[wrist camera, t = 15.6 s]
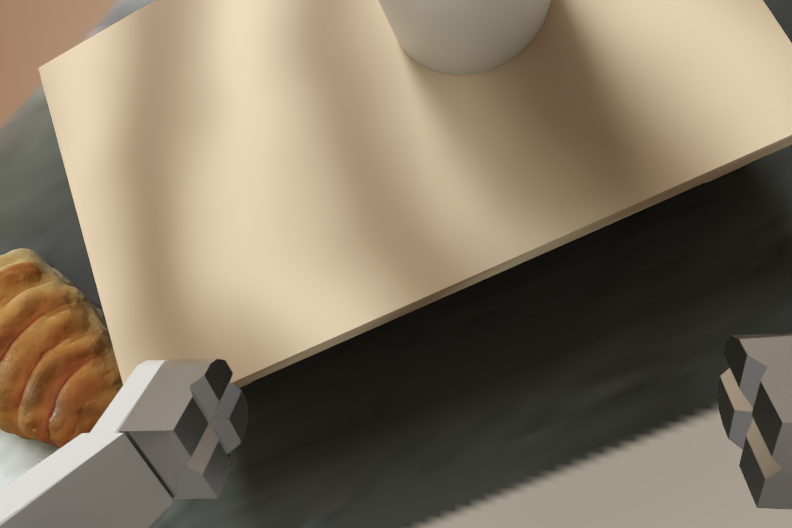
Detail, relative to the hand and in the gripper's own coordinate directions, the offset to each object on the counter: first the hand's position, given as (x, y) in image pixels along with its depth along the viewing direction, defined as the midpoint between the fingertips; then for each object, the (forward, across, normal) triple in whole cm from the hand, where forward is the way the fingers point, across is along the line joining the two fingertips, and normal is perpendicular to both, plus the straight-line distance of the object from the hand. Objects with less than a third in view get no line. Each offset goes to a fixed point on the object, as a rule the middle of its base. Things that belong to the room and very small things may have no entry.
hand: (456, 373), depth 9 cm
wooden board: (+14, +3, +2) cm, 15 cm away
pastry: (+10, +20, +7) cm, 23 cm away
